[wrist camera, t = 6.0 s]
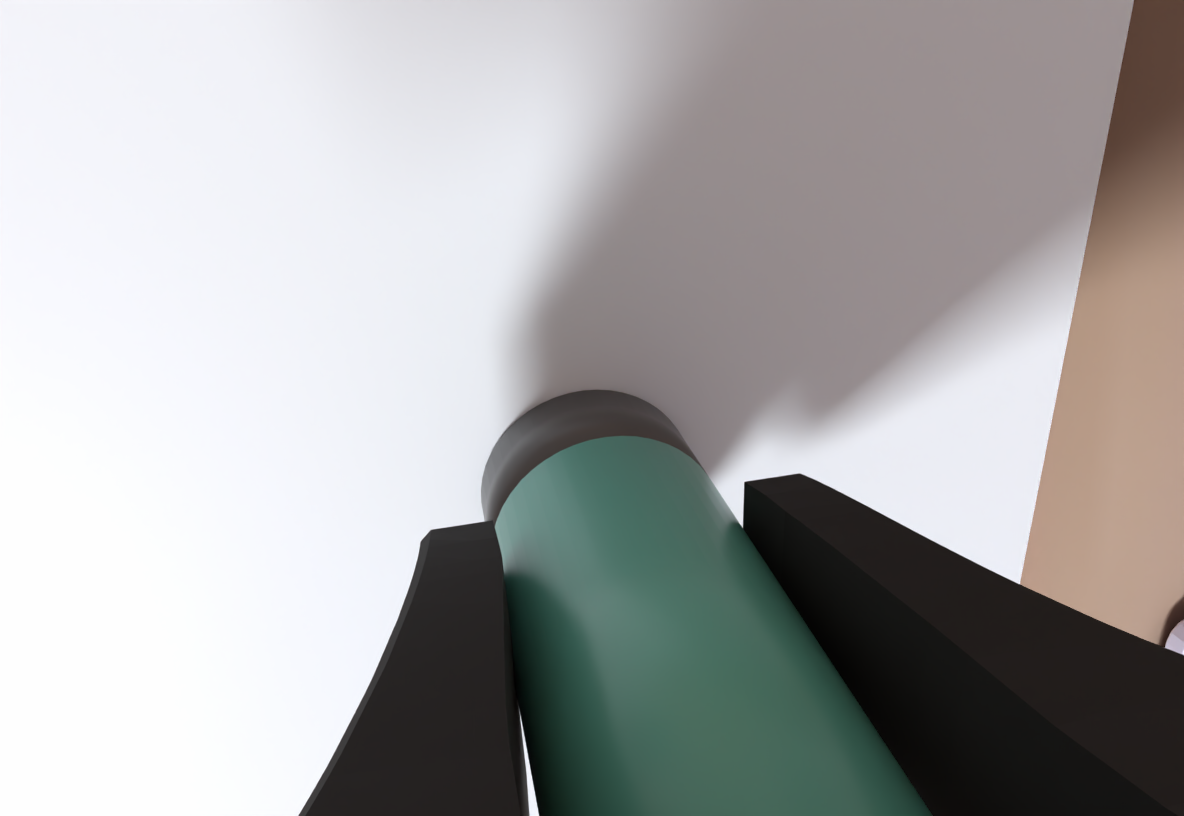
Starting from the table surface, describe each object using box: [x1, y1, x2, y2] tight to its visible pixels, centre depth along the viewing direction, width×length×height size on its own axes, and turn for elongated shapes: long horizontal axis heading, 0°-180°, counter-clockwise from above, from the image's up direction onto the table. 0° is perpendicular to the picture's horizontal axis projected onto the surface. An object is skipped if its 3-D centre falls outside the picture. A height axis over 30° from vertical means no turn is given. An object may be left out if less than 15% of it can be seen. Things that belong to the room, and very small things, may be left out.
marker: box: [481, 390, 933, 816], centre depth 7 cm, size 3×3×8 cm
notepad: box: [0, 0, 1134, 816], centre depth 11 cm, size 18×12×1 cm, turn 93°
